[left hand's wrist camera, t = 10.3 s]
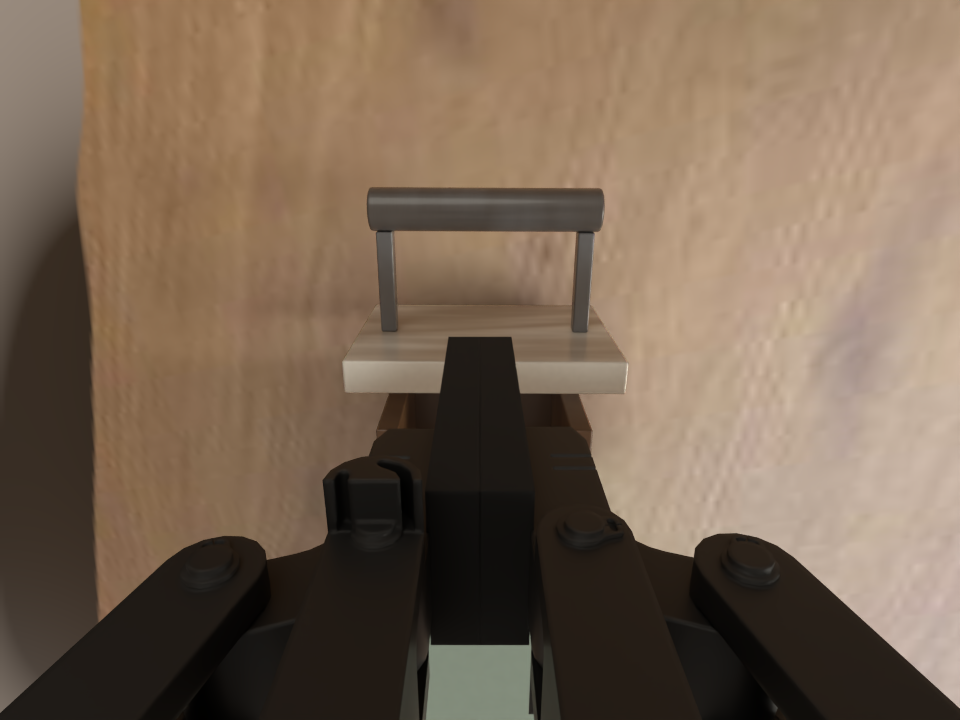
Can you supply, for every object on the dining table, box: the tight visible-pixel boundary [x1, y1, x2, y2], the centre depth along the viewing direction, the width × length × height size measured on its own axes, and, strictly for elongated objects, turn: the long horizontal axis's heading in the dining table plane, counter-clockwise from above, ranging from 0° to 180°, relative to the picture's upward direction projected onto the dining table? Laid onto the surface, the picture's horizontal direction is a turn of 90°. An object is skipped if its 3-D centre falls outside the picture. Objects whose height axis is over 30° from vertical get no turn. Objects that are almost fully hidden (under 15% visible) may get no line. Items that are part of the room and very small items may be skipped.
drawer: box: [342, 187, 628, 452], centre depth 26 cm, size 25×10×7 cm, turn 0°
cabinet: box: [426, 639, 534, 720], centre depth 31 cm, size 21×11×9 cm, turn 0°
